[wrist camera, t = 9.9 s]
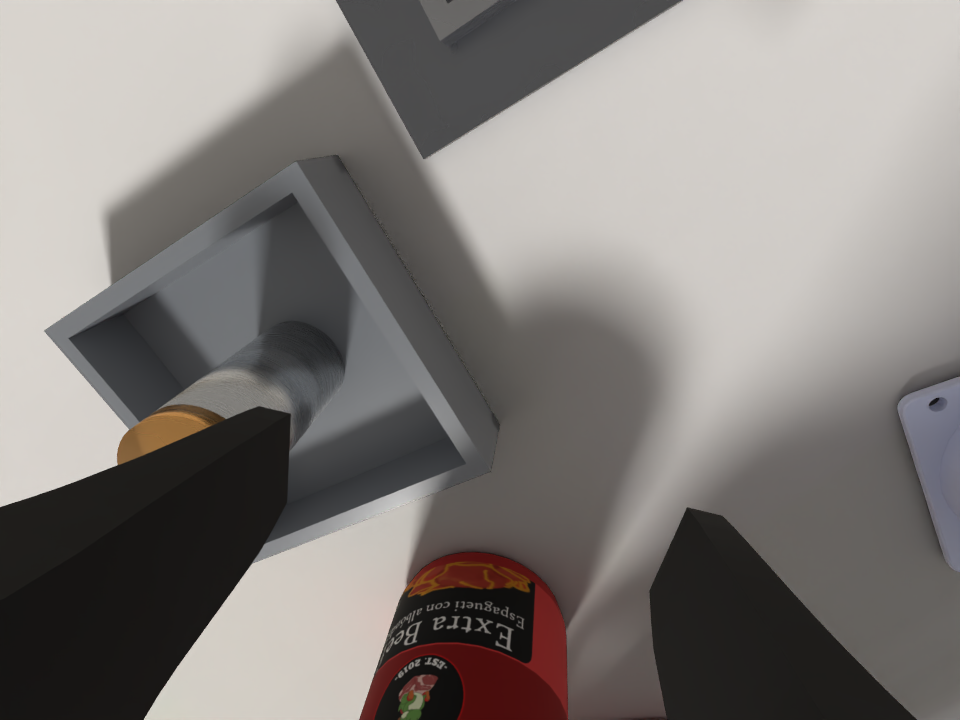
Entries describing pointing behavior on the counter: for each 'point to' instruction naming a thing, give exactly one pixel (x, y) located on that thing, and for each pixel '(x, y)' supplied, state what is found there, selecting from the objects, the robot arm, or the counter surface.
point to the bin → (308, 299)
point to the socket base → (481, 53)
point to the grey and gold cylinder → (250, 388)
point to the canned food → (473, 646)
